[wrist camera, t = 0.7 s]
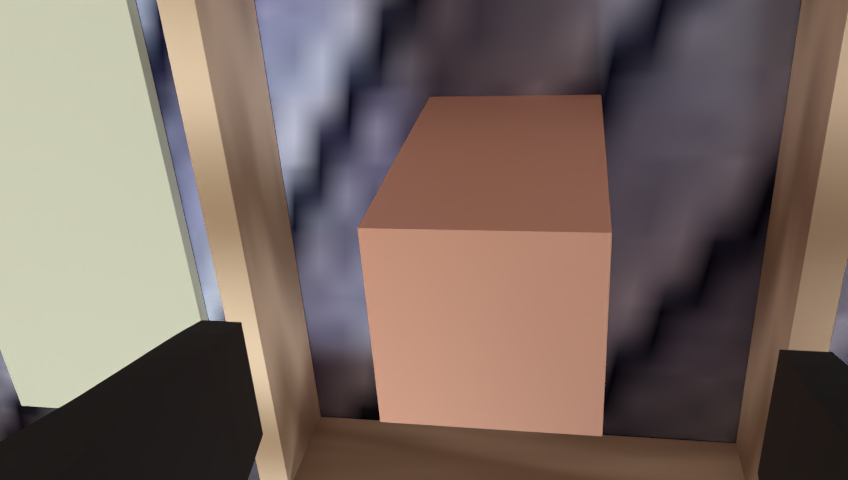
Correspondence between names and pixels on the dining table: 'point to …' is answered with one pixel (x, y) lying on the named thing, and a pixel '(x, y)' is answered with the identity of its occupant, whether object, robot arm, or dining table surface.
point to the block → (493, 267)
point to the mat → (85, 201)
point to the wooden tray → (474, 447)
